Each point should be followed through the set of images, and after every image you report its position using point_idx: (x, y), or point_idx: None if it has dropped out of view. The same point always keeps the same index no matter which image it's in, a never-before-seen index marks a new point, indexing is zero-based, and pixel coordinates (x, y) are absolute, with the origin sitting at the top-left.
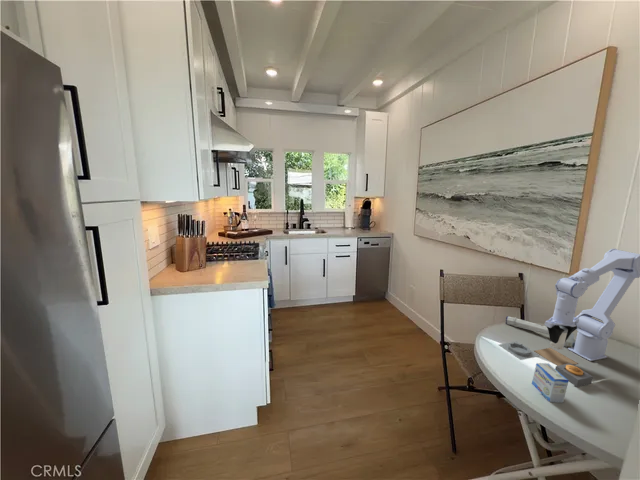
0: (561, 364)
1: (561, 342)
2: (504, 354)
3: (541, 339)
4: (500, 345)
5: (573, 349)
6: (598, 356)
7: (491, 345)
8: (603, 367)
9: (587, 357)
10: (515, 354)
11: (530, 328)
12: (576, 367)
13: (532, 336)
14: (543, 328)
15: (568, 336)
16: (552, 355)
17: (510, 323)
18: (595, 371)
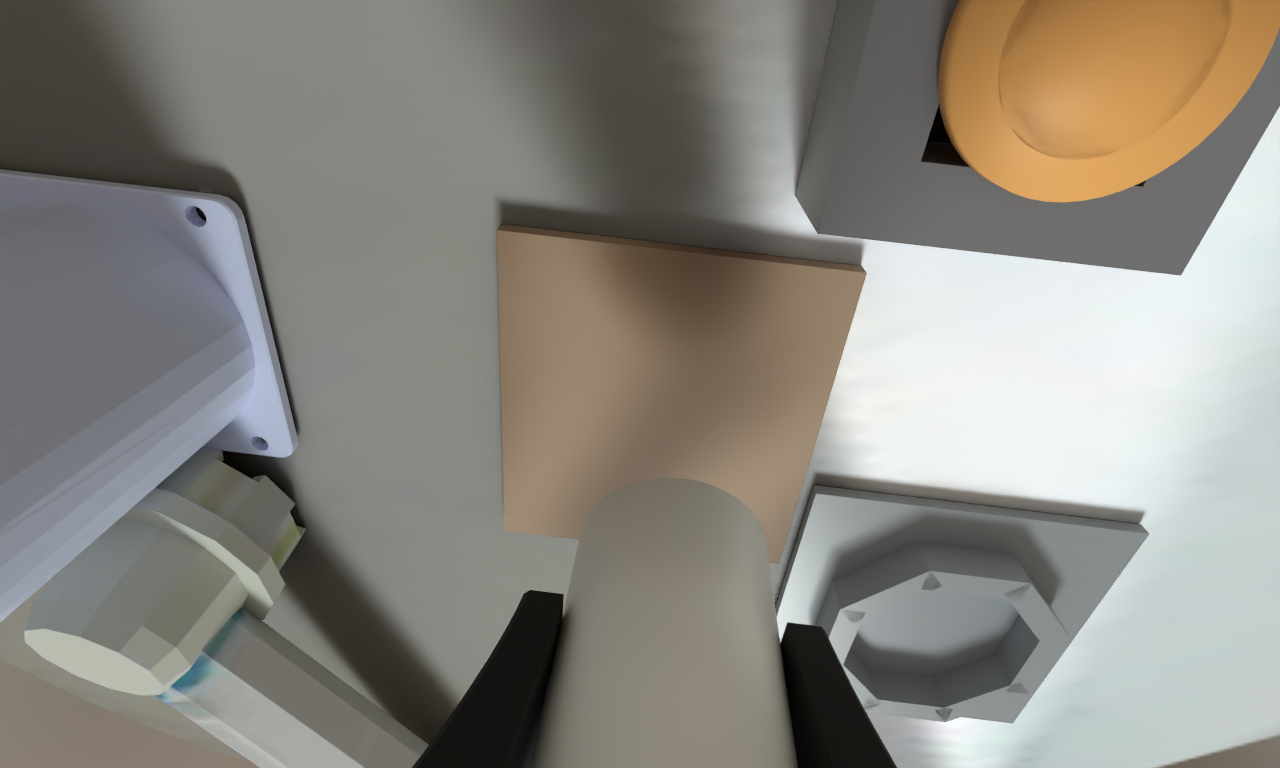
0: (773, 301)
1: (733, 616)
2: (1147, 630)
3: (424, 623)
4: (1006, 711)
5: (240, 419)
6: (11, 206)
7: (1065, 731)
8: (159, 26)
9: (207, 257)
10: (1064, 597)
11: None
12: (978, 76)
13: (468, 672)
14: (322, 752)
15: (478, 714)
16: (657, 446)
17: None
18: (405, 9)
